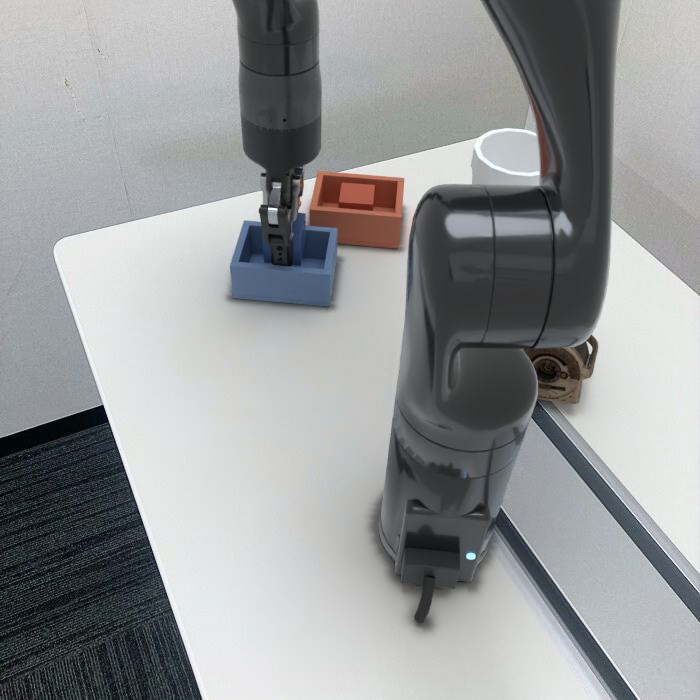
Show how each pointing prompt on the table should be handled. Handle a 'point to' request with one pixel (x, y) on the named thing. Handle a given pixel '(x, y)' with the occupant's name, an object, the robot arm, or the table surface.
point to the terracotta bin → (359, 224)
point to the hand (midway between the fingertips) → (285, 250)
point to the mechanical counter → (563, 370)
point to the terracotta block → (357, 196)
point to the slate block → (297, 241)
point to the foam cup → (506, 158)
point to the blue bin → (285, 268)
